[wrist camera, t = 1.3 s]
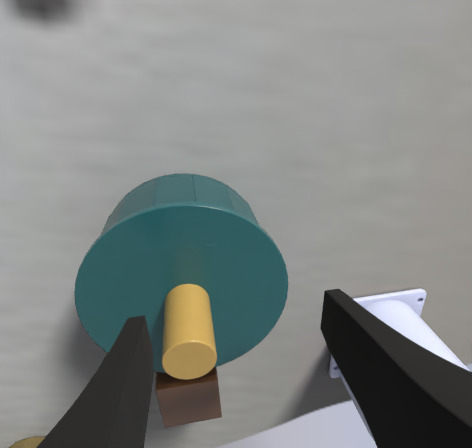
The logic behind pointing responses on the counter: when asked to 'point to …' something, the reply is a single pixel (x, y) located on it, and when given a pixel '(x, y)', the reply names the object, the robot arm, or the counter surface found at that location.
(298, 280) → the counter surface
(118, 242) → the tin lid
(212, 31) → the counter surface
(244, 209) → the tin
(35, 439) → the cork
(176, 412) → the block
